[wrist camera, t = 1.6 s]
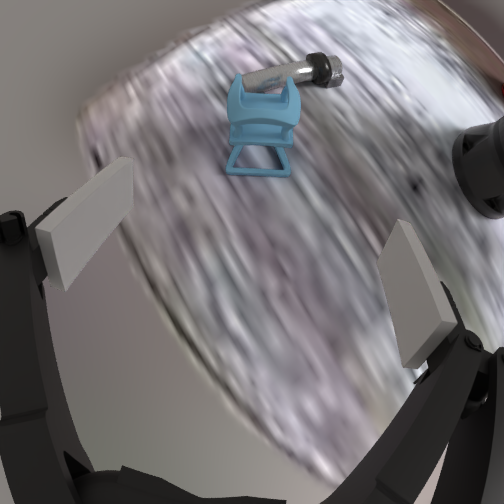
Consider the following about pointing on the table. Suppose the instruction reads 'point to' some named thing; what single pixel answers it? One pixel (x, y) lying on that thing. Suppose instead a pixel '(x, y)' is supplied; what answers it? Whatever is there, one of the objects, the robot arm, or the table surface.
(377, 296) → the table surface
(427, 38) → the table surface
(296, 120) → the chair
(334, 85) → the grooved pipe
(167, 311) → the table surface
